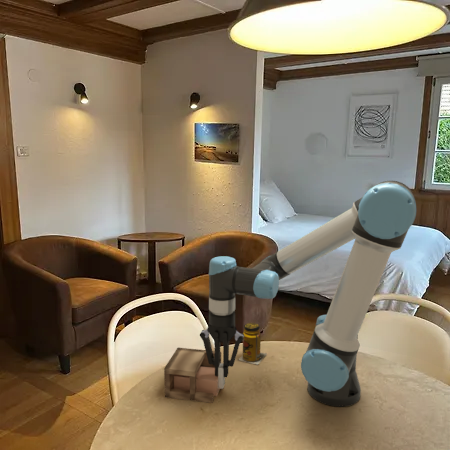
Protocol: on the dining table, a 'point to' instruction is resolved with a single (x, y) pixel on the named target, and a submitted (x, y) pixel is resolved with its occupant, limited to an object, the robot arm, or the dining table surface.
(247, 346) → the condiment
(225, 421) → the dining table surface
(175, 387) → the pink rectangular block
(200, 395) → the dock
